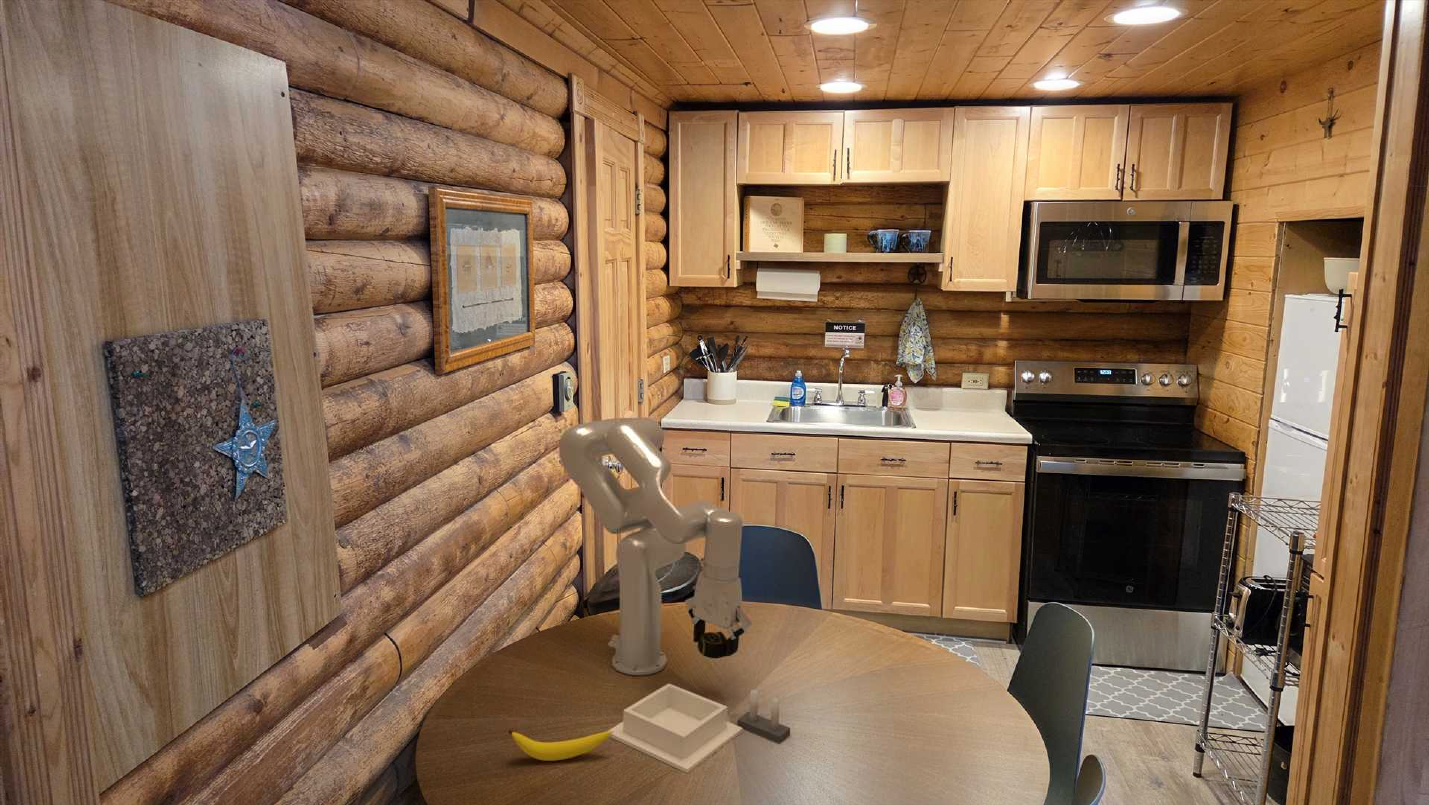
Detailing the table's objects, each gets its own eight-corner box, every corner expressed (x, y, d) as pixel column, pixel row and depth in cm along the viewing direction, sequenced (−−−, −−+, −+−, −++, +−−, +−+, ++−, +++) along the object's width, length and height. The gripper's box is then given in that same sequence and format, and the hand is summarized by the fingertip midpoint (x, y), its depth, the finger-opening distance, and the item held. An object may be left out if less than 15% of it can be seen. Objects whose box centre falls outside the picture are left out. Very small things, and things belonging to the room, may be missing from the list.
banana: (612, 760, 157) (613, 728, 156) (508, 767, 153) (507, 735, 152) (612, 751, 159) (612, 720, 158) (509, 758, 156) (509, 726, 155)
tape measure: (733, 660, 178) (734, 644, 178) (702, 663, 176) (704, 646, 175) (722, 645, 185) (724, 629, 184) (693, 647, 183) (694, 631, 182)
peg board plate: (737, 726, 170) (738, 691, 168) (748, 718, 173) (749, 684, 172) (779, 743, 164) (781, 708, 163) (789, 735, 167) (791, 699, 166)
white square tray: (606, 735, 165) (607, 710, 164) (664, 699, 179) (665, 676, 178) (687, 773, 153) (688, 746, 152) (742, 731, 168) (743, 707, 167)
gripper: (677, 563, 178) (672, 639, 182) (745, 587, 169) (738, 667, 172) (698, 554, 184) (693, 628, 188) (765, 576, 175) (758, 654, 178)
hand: (715, 646), depth 180 cm, fingers closed on tape measure, 8 cm apart
